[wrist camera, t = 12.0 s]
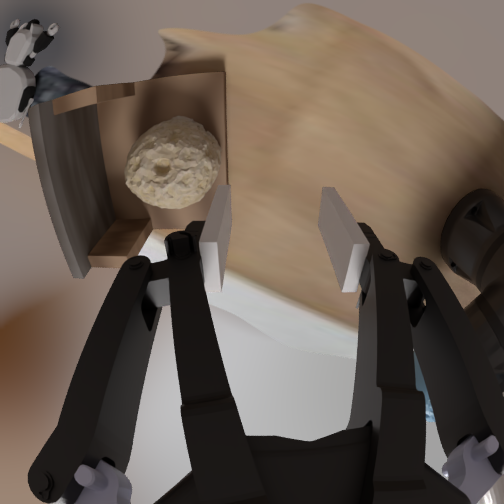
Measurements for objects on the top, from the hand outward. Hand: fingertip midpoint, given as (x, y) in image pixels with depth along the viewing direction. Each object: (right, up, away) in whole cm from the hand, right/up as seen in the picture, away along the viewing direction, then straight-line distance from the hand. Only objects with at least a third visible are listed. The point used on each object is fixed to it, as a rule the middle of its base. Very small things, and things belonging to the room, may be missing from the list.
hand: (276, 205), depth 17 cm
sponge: (-9, +7, +11) cm, 16 cm away
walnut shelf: (-12, +8, +12) cm, 19 cm away
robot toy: (-33, +23, +4) cm, 40 cm away
